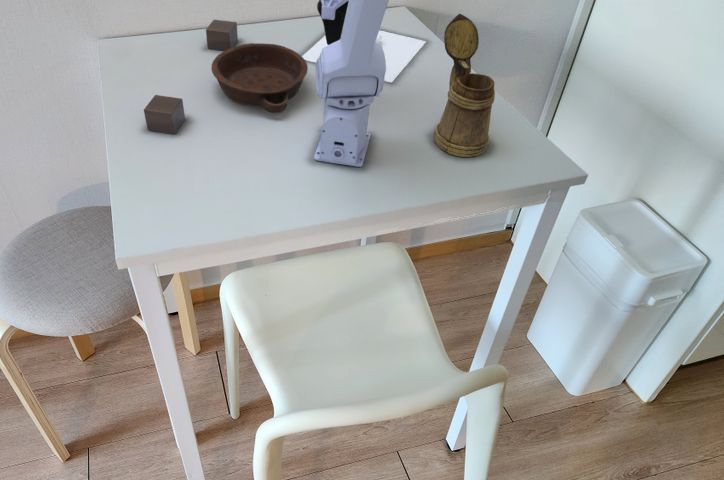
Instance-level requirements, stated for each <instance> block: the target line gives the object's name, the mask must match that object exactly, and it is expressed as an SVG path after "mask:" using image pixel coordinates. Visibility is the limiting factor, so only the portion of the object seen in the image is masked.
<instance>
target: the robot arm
mask: <svg viewBox="0 0 724 480" xmlns="http://www.w3.org/2000/svg"><path fill="white" fill-rule="evenodd" d="M388 4H389V0H318V2H317V3H316V9H317V12H318V14H319V16H320V18H321V21H322V24H323V29H324V36H326V41H327V45H328V46H326V47H324V48H322V52H321V53H320V56H319V58H318V59H317V61H316V63H315V87H316V88H315V89H316V93H317V96H319V98H320V99H321V100H322V99H323V117H322V118H323V119H322V125H321V129H320V130H321V132H320V140H319V142H318V145H317V146H316V147H317V148H316V151H315V152H314V156H313V160H314V161H318V162H323V163H324V162H325V163H331V164H338V165H345V166H350V167H356V168H361V167H363V166H364V162H365V158H366V154H367V150H368V147H369V143H370V140H371V136H372V135H371V133H370V132H368V125H369V115H370V106H371V104H374V99H375V97H379V96H380V94H381V93H382V92H383V90H384V87H385V81H384V77H385V72H386V61H385V54H384V51H383V48H382V46H381V45H379V44H377V43H376V39H377V36H378V32H379V30H381V25H382V23H383V20H384V17H385V14H386V11H387V7H388Z"/></svg>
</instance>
